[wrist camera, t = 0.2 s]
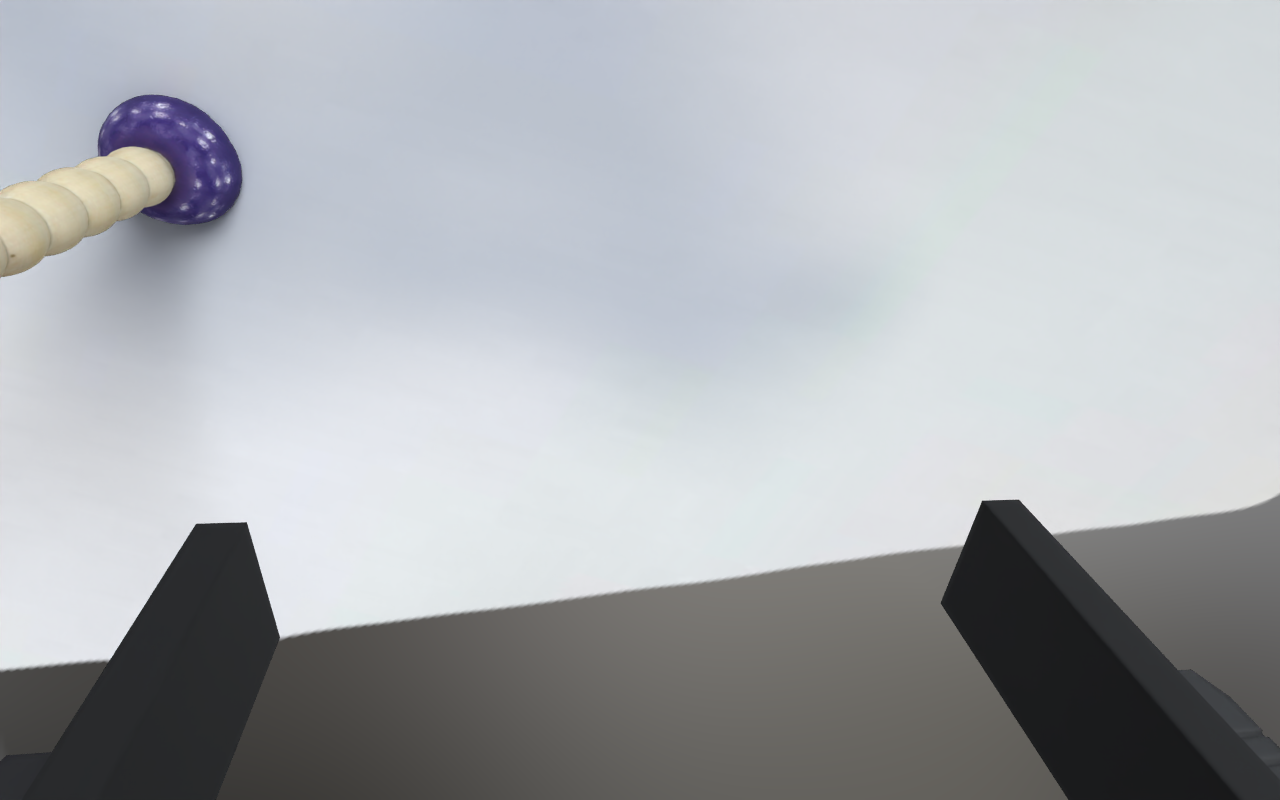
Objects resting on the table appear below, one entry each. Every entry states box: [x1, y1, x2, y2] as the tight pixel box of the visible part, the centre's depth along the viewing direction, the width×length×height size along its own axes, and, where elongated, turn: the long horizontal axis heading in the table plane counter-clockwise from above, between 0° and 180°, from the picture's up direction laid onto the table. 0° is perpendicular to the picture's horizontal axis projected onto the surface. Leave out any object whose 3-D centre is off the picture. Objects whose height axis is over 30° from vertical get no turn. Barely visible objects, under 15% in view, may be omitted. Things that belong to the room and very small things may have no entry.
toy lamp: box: [0, 95, 242, 278], centre depth 16 cm, size 5×5×17 cm
